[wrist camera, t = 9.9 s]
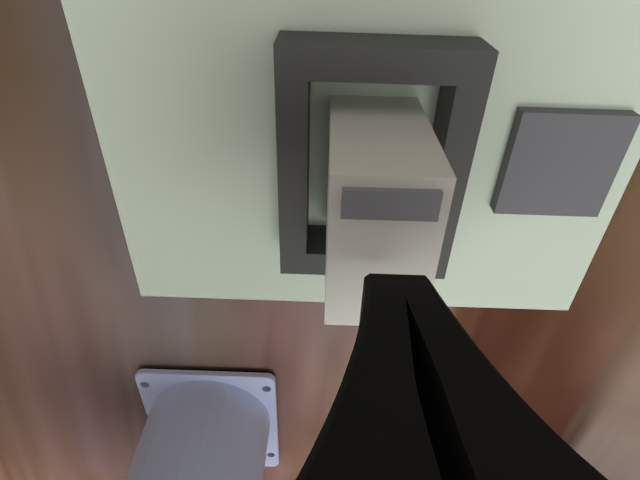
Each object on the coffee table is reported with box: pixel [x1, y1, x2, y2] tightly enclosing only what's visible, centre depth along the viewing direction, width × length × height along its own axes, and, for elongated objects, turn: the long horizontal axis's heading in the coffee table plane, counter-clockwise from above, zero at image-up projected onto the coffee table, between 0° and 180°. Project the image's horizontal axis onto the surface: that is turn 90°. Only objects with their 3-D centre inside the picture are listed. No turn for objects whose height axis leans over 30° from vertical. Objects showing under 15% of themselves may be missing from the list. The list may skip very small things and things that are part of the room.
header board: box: [61, 0, 640, 310], centre depth 17 cm, size 15×20×3 cm
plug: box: [324, 95, 457, 326], centre depth 15 cm, size 5×3×6 cm, turn 179°
